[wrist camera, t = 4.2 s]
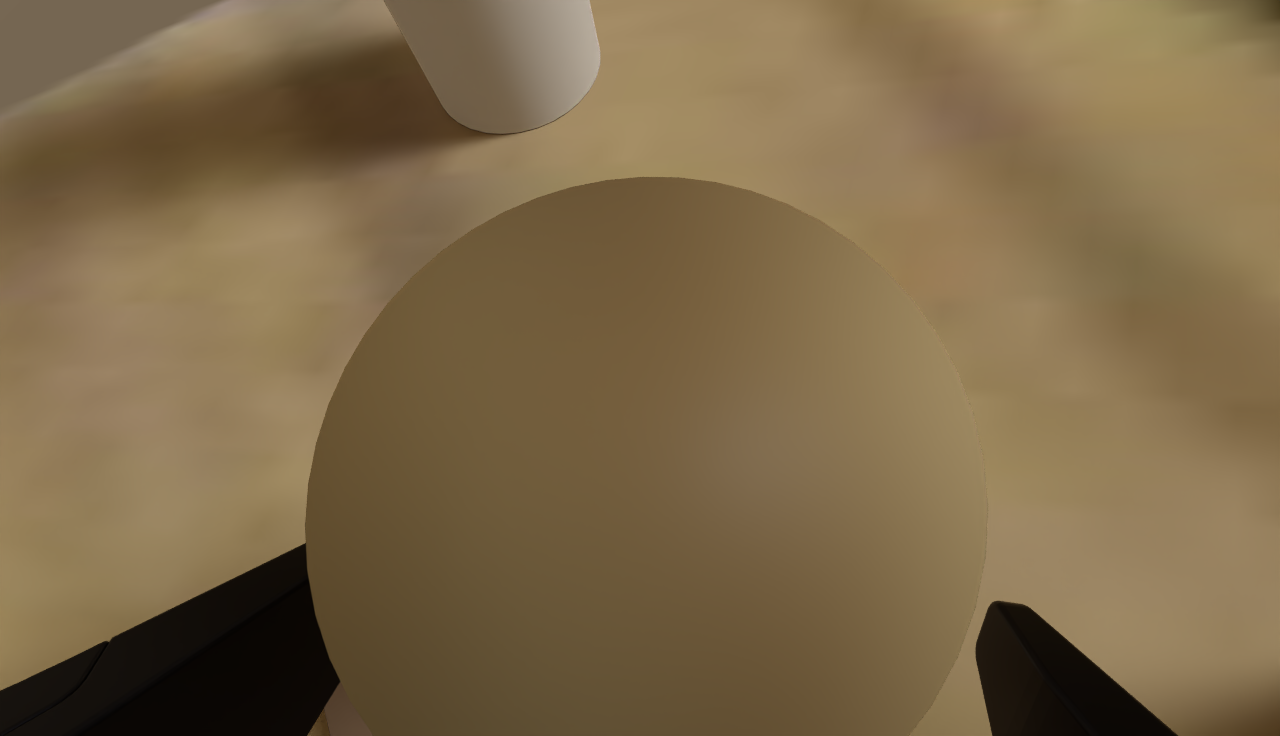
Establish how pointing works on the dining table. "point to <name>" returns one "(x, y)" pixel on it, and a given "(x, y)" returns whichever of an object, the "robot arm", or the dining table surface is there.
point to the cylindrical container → (502, 57)
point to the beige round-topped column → (647, 481)
